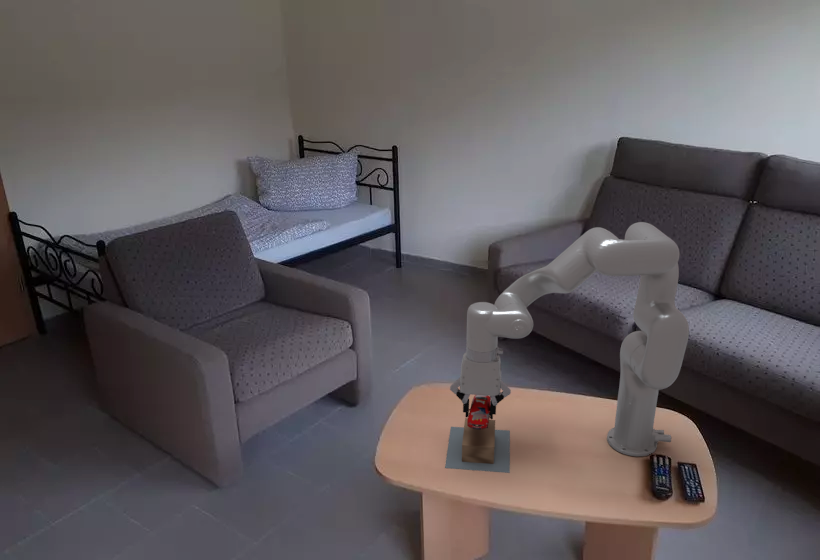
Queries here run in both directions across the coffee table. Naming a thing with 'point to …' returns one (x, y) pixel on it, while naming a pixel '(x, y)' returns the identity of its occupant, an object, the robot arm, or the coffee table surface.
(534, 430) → the coffee table surface
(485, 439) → the walnut block
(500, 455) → the base plate
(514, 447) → the coffee table surface
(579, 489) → the coffee table surface
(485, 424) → the race car
